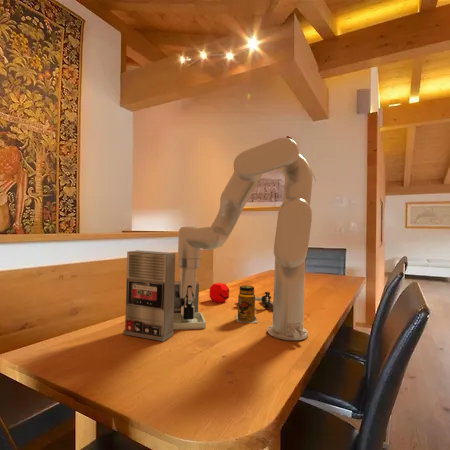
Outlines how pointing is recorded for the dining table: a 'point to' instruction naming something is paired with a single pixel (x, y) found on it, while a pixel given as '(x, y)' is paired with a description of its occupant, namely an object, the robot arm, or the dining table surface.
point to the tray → (197, 324)
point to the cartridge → (183, 315)
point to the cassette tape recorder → (150, 294)
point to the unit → (179, 301)
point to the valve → (264, 299)
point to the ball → (219, 292)
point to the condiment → (246, 305)
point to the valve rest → (269, 304)
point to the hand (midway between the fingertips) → (187, 315)
